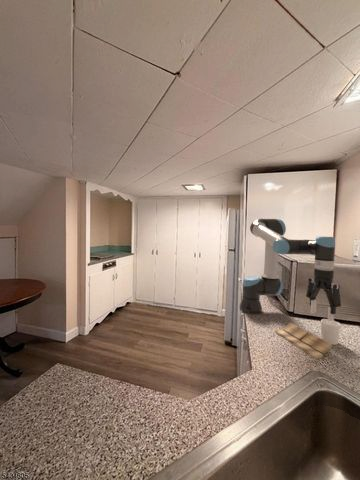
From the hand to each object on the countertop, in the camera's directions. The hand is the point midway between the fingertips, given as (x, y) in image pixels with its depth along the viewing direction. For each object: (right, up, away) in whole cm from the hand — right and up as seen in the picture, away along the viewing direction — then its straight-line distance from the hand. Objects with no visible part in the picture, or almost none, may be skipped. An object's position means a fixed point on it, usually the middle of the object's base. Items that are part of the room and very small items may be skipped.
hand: (321, 316), depth 97 cm
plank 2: (-3, -13, 0) cm, 13 cm away
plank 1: (-6, -12, +11) cm, 18 cm away
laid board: (-10, -15, +4) cm, 18 cm away
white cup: (+9, -15, +7) cm, 19 cm away
